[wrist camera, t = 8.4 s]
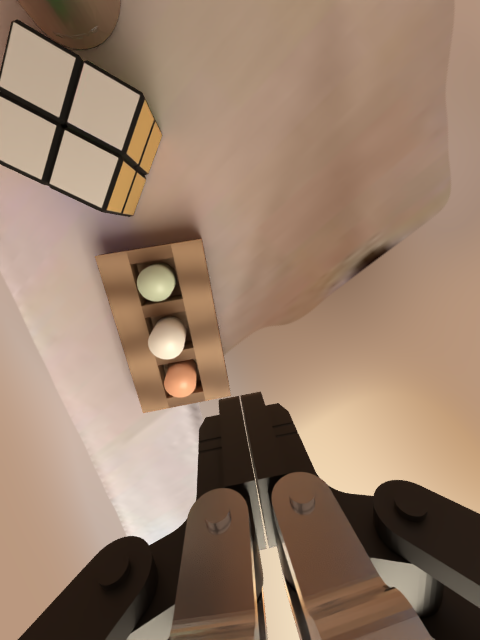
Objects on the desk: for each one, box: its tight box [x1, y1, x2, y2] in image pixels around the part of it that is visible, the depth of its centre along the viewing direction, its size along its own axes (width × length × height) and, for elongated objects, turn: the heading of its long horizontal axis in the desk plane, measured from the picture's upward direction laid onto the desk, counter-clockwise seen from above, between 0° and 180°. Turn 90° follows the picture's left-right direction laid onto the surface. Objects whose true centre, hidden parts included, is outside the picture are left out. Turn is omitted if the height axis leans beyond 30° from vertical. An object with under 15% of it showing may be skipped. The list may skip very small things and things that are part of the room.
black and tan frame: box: [0, 20, 162, 217], centre depth 27 cm, size 10×10×10 cm
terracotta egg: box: [164, 359, 197, 398], centre depth 38 cm, size 4×4×4 cm
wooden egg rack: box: [95, 238, 231, 413], centre depth 37 cm, size 21×12×4 cm, turn 9°
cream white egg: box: [148, 316, 186, 359], centre depth 34 cm, size 4×4×4 cm
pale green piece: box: [137, 263, 177, 301], centre depth 34 cm, size 4×4×4 cm
